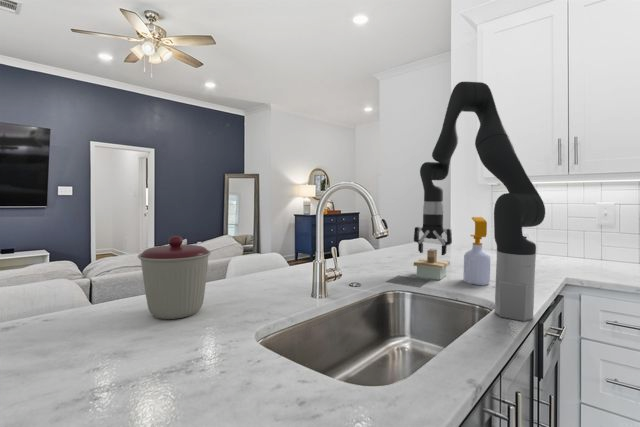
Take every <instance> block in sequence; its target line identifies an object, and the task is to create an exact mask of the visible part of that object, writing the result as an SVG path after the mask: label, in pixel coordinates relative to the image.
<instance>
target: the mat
mask: <svg viewBox="0 0 640 427" xmlns="http://www.w3.org/2000/svg"><path fill="white" fill-rule="evenodd" d="M430 281H431V279H426V278H419V277H411V276H405V275H396V276H394V277H392V278H390V279H389V280H387V281H385V282H386V283H387V284H388V283H389V284H396V285H401V286H408V287H415V288H422V287H424V286H425V285H426V284H427V283H429V282H430Z"/></svg>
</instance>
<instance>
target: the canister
mask: <svg viewBox="0 0 640 427" xmlns="http://www.w3.org/2000/svg"><path fill="white" fill-rule="evenodd" d="M183 241H184V240H183V238H182V237H181V236H179V235H173V236H171V237H169V239H168V244H167V245H161V246H154V247H150V248H147V249H144V251H142V252H141V253H139V254H138V255H137V258H138V259H139V260H140V261H141V271H142V280H143V285H144V291H145V298H146V304H147V309H148V311H149V314H150V315H151V316H153V317H154V318H156V319H160V320H161V319H162V320H176V319H182V318H186V317H187V318H188V317H190V316H193V315H195V314H196V313H198V312H199V311H200V310H201V308H202V307H203V304H204V298H205V293H206V292H205V291H206V283H207V274H208V266H209V264H208V263H209V256H210V255H211V253H212V252H211V250H210V249H207V248H206V247H204V246H201V245H195V244H183Z"/></svg>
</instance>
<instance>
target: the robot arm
mask: <svg viewBox="0 0 640 427" xmlns="http://www.w3.org/2000/svg"><path fill="white" fill-rule="evenodd" d="M462 112H469V113H475V115H476V116H477V118H478V121H479V129H478V131H477V133H476V137H475V140H474V142H475V143H474V146H475V150H476V152H477V155H478V156H479V159H480V162H481V164H482V165H483V166H484V167H485V168H486V170H488V172H490V173H491V174H492V175H493V176H494V177H495V178H496V179H498V180H499V182H501V183H502V184H503V185H504V187H505V188H506V190H507V191H508V192H506V193H502V194H501V195H500V196H498V197H497V198H496V201H495V204H494V209H493V230H494V231H493V232H494V234H493V235H494V237H493V238H494V240H495V241H494V242H495V244H496V262H495V263H496V264H495V265H496V266H495V286H494V287H495V289H494V291H495V293H494V313H495V314H497V315H498V318H499V317H500V318H505V319H510V320H516V321H521V322H526V321H530V320H532V319H533V318H534V308H535V307H534V306H535V305H534V304H535V286H536V284H535V280H536V260H537V258H536V256H537V244H536V243H535V242H534V241H532V240H530V239H527V238H526V237H525V236H524V235H523V228H533V227H537V226H539V225H541V224H542V223H543V222H544V219H545V218H546V206H545V203H544V200H543V199H542V197H541V195H540V193H539V192H538V191H537V189H536V187H535V185H534V184H533V182H532V181H531V179H530V178H529V175H528V174H527V172H526V170H525V168H524V167H523V164H522V162H521V161H520V159H519V157H518V155H517V153H516V149H515V147H514V145H513V142H512V140H511V138H510V135H509V134H508V133H507V130H506V129H505V127H504V124H503V121H502V120H501V117H500V115H499V111H498V109H497V106H496V102H495V99H494V96H493V92H492V91H491V88H490V86H489V85H488V84H487V83H484V82H482V81H481V82H480V81H459V82H458V83H457V84H455V86H454V87H453V89H452V91H451V93H450V97H449V101H448V103H447V108H446V111H445V115H444V119H443V124H442V128H441V131H440V133H439V136H438V139H437V140H436V144H435V146H434V148H433V150H432V154H431V158H432V159H433V160H434V161H427V162H424V163H422V164H421V165H420V168H419V176H420V179H421V183H422V187H423V206H422V212H423V213H422V227H420V226H416V227H415V226H414V232H413V233H414V234H413V241H414V242H415V243H417V244H418V246H417V247H418V249H417V250H418V252H419V254H423V253H424V242H425V240H427V239H429V240H430V239H432V240H437V241H439V243H440V244H441V256H445V255H446V254H447V246H448V245H451V244H452V242H453V240H452V235H453V234H452V228H444V201H443V200H444V189H443V188H442V187H441V186H438V185H435V184H434V182H433V181H444V180H445V179H446V178H447V177H448V176H449V171H450V165H451V160H452V157H453V155H454V152H455V150H456V149H457V147H458V144H459V134H458V126H457V123H458V122H457V121H458V119H459V117H460V116H461V115H460V114H461V113H462ZM421 232H422V234H423V235H422V236H421V238H420V233H421ZM444 233H445V235H446V240H445V237H444V236H443V235H442V234H444Z"/></svg>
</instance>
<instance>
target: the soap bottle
mask: <svg viewBox="0 0 640 427" xmlns="http://www.w3.org/2000/svg"><path fill="white" fill-rule="evenodd" d="M471 220H473V221H474V234H470V237H473V239H474V242H472V248H471V249H469V250H467V251H466V252H465V253H464V255H463V279H462V280H463V282H465V283H468V284H471V285H474V286H475V285H476V286H485V285H486V286H487V285H489V284H490V280H491V279H490V278H491V276H490V275H491V256H490V254H489V253H487V251H485V250H483V243H482V242H481V240H483V238H486V237H487V235H488V234H487V232H488V231H487V229H488V222H487V221H486V219H485V218H484V217H482V216H472V217H471Z"/></svg>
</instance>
